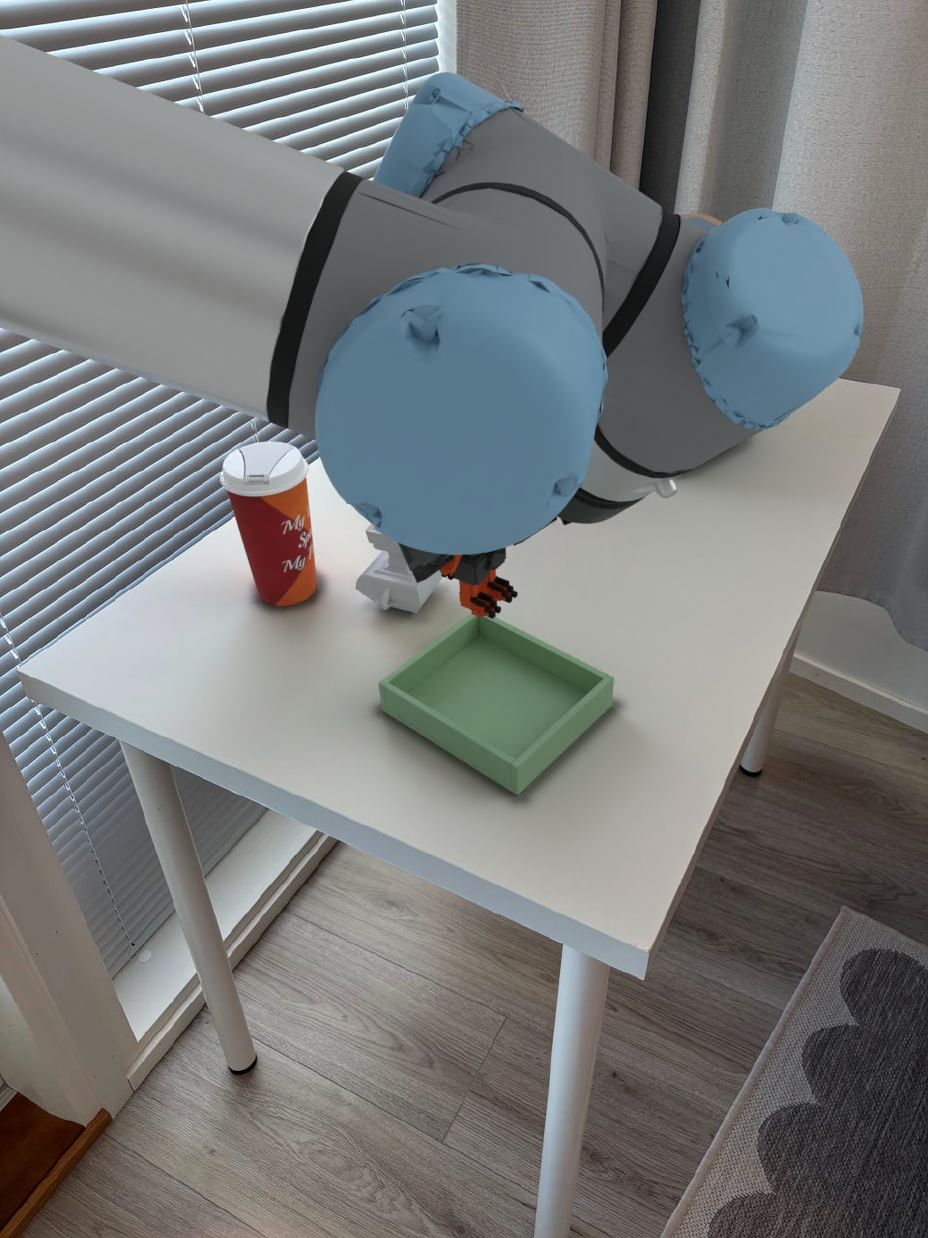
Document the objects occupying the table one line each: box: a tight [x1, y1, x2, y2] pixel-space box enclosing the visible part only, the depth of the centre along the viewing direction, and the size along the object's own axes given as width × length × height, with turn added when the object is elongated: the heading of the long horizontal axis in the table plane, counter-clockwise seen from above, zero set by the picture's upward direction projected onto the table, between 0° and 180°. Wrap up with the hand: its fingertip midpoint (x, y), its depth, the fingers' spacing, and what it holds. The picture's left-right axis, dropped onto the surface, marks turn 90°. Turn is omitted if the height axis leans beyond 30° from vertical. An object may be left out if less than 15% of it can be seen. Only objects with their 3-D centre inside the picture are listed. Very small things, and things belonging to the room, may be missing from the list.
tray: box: [377, 612, 615, 796], centre depth 76 cm, size 14×12×3 cm
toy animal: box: [439, 547, 519, 619], centre depth 67 cm, size 8×6×12 cm
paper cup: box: [219, 441, 317, 607], centre depth 87 cm, size 8×8×14 cm
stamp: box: [355, 523, 443, 614], centre depth 86 cm, size 9×7×8 cm
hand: (463, 545), depth 71 cm, fingers closed on toy animal, 8 cm apart
